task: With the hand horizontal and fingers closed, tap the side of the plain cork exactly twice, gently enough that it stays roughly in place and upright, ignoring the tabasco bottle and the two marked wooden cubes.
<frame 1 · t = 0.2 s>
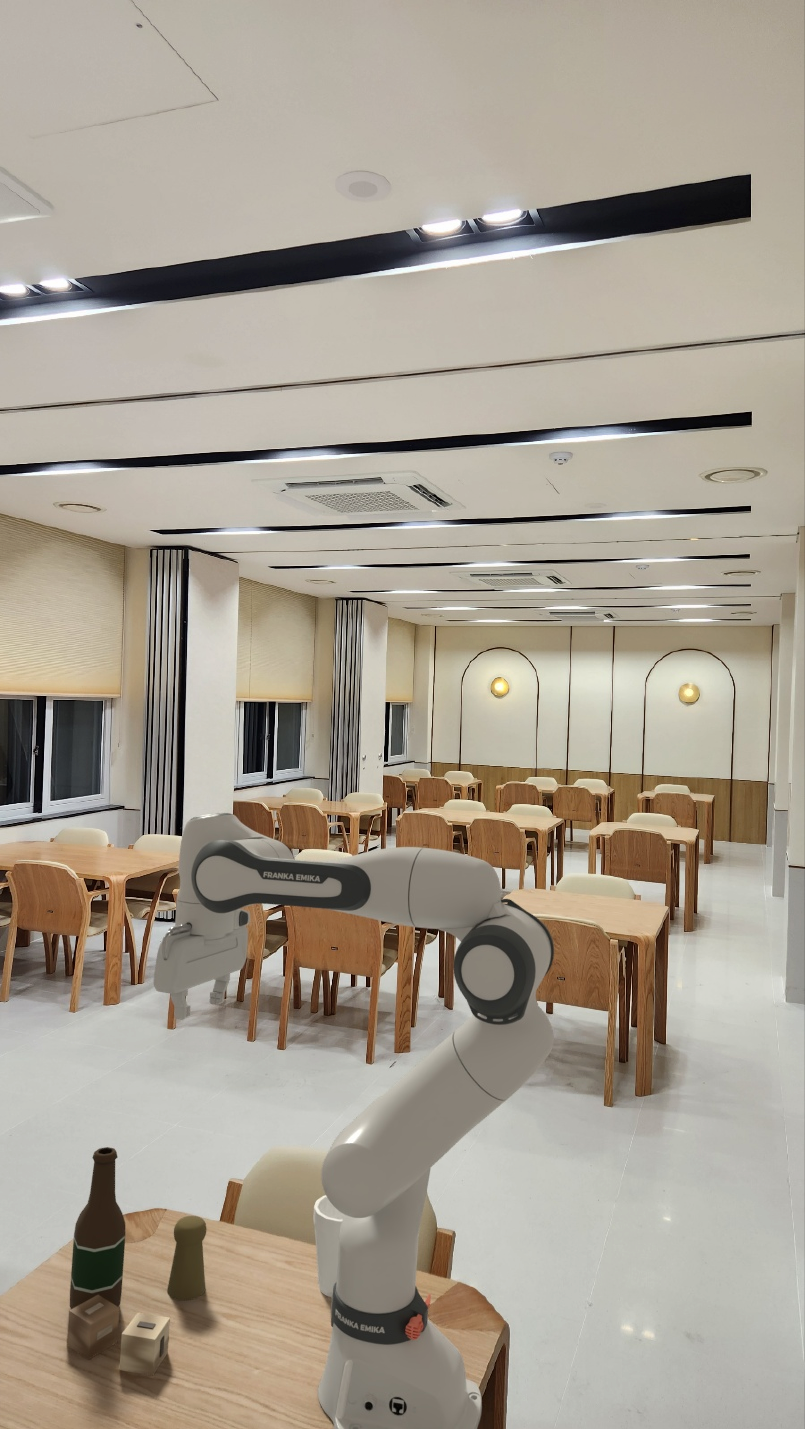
hand: (199, 1010, 137), 48 cm above the table, tool pointing down, fingers open, 8 cm apart
foam cup: (337, 1287, 149), on the table
walnut cube marked: (92, 1343, 132), on the table
beer bottle: (94, 1308, 140), on the table
beech cube marked: (143, 1361, 129), on the table
cork: (186, 1290, 146), on the table
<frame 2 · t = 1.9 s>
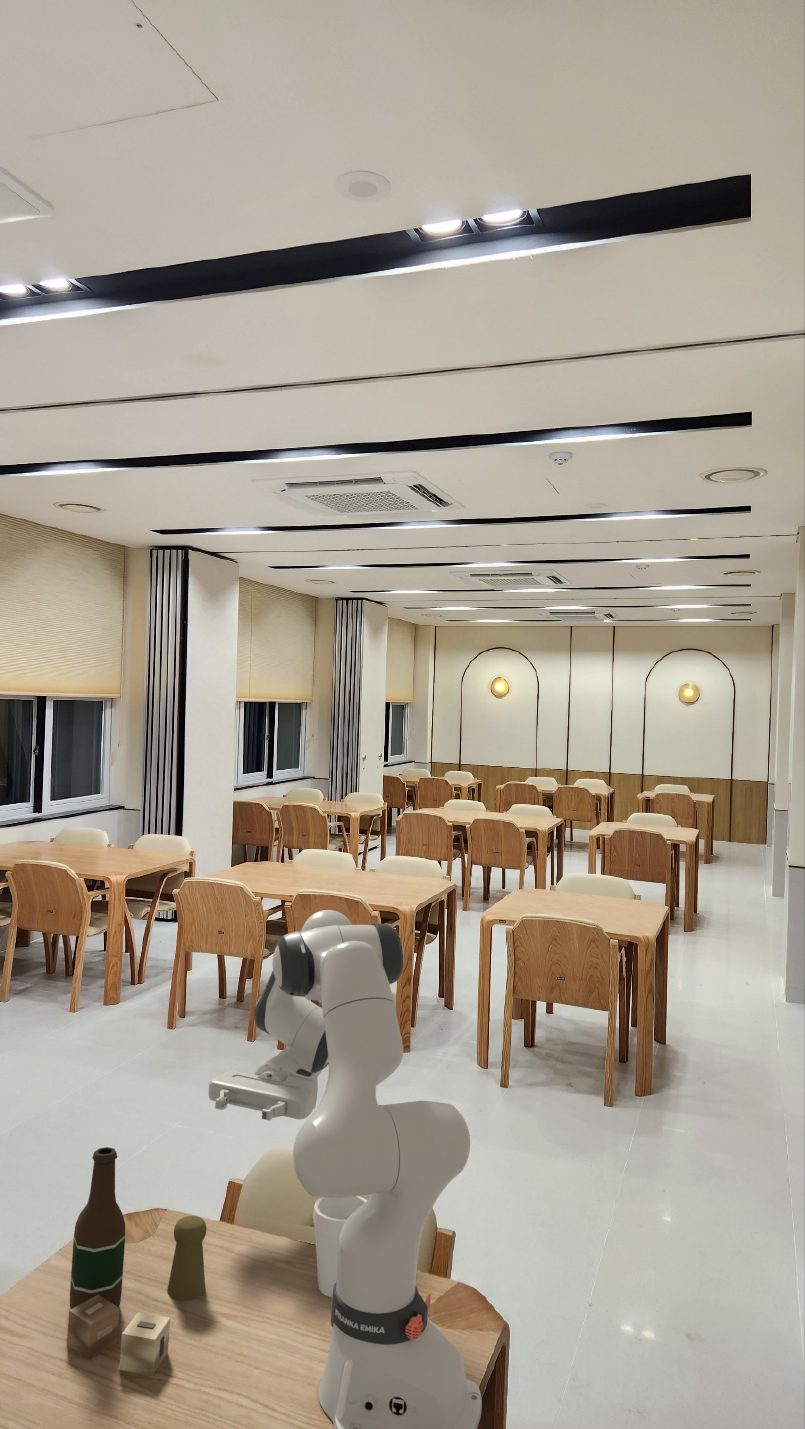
hand: (241, 1110, 162), 23 cm above the table, tool horizontal, fingers open, 8 cm apart
nothing on the table moved.
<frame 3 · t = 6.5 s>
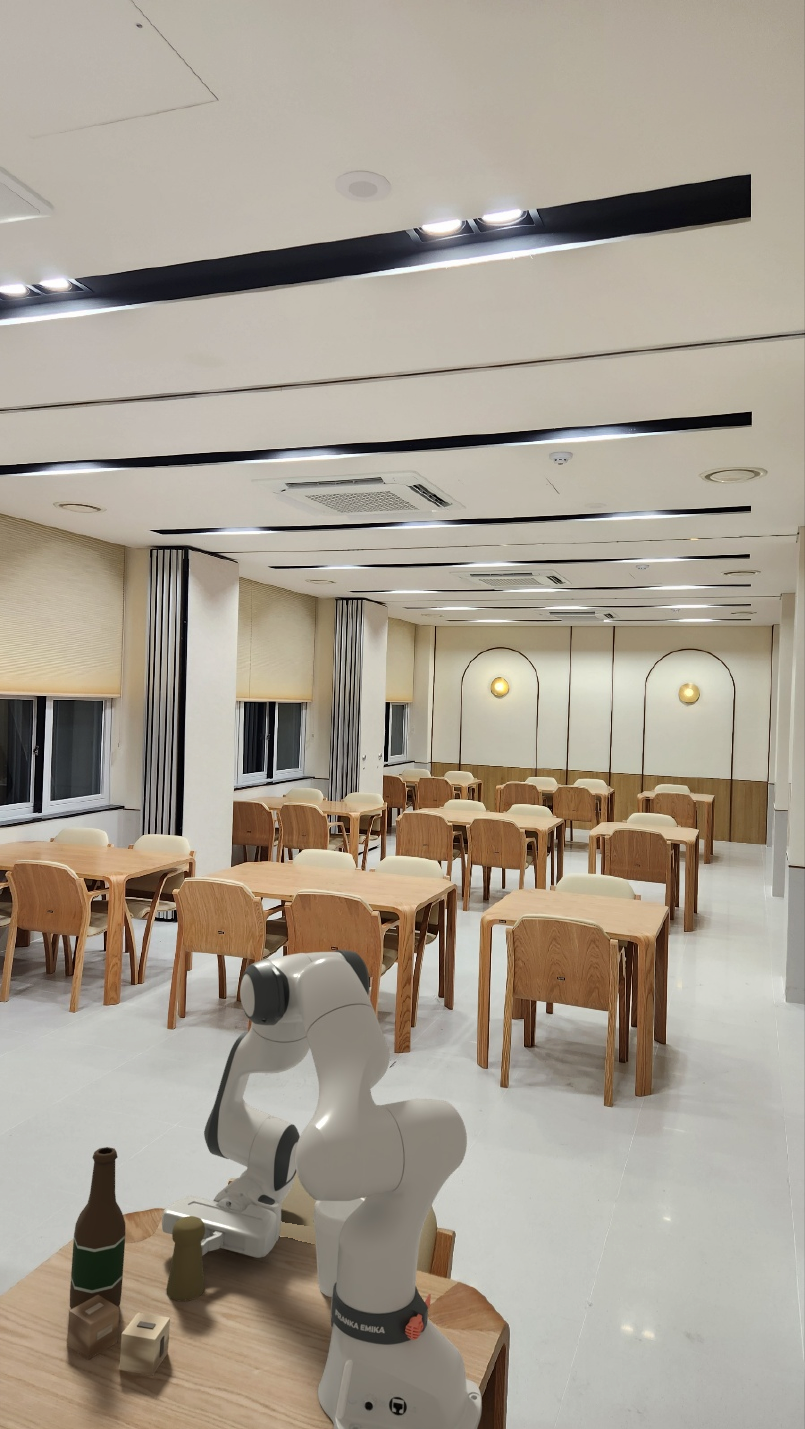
hand: (194, 1248, 148), 6 cm above the table, tool horizontal, fingers closed, pressing on cork
cork: (185, 1290, 146), on the table, touching gripper
everything else where it was.
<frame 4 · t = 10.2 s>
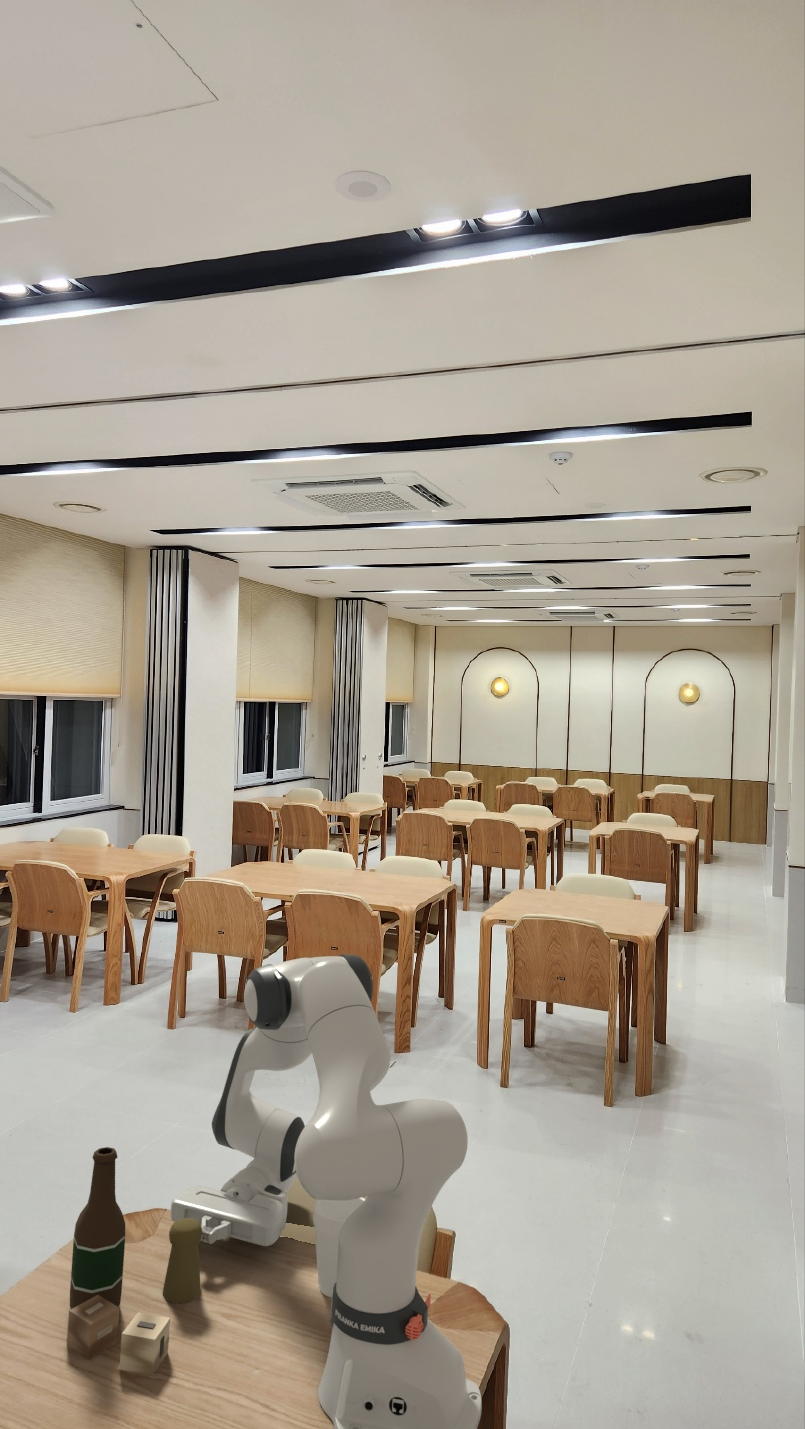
hand: (203, 1237, 151), 6 cm above the table, tool horizontal, fingers closed
cork: (181, 1292, 145), on the table
everything else where it was.
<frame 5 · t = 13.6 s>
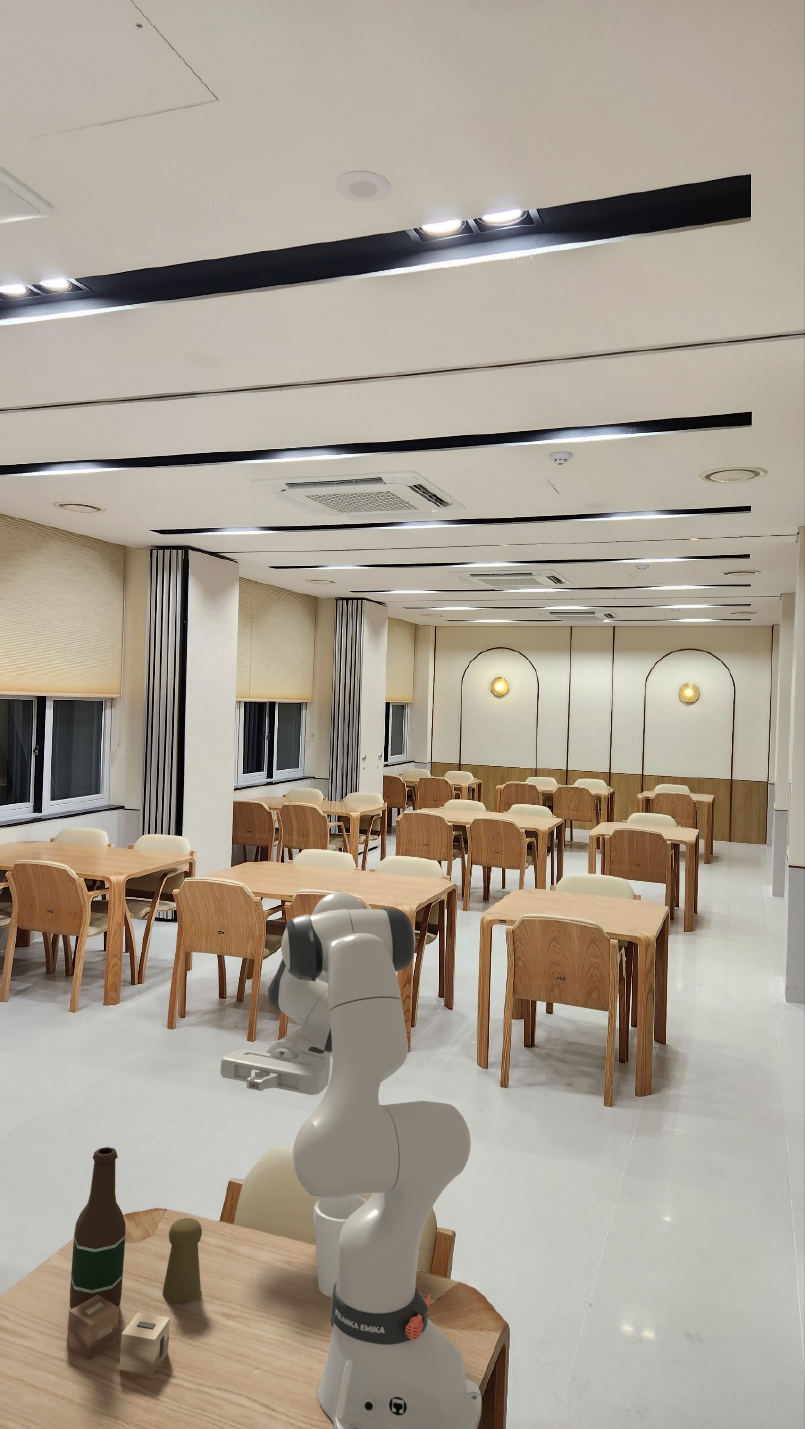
hand: (253, 1085, 161), 28 cm above the table, tool horizontal, fingers closed
nothing on the table moved.
at the end: cork moved 1.0 cm from its start; cork tilted 0°; cork touching table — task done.
